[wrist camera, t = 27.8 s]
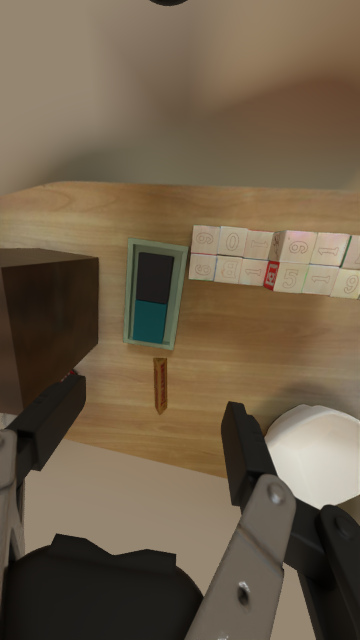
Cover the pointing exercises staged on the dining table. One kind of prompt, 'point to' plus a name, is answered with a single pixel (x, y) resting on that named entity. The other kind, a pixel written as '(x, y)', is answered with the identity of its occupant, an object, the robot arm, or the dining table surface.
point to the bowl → (317, 454)
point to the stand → (43, 320)
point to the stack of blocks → (278, 260)
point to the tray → (175, 289)
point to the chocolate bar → (160, 384)
